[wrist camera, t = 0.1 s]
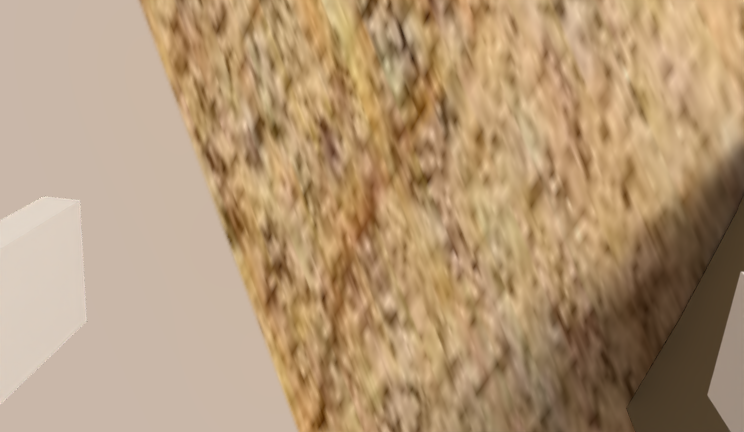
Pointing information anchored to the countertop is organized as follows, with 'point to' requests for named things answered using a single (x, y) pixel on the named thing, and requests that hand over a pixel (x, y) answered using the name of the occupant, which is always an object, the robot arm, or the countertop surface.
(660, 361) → the book
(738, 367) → the robot arm
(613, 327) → the countertop surface
